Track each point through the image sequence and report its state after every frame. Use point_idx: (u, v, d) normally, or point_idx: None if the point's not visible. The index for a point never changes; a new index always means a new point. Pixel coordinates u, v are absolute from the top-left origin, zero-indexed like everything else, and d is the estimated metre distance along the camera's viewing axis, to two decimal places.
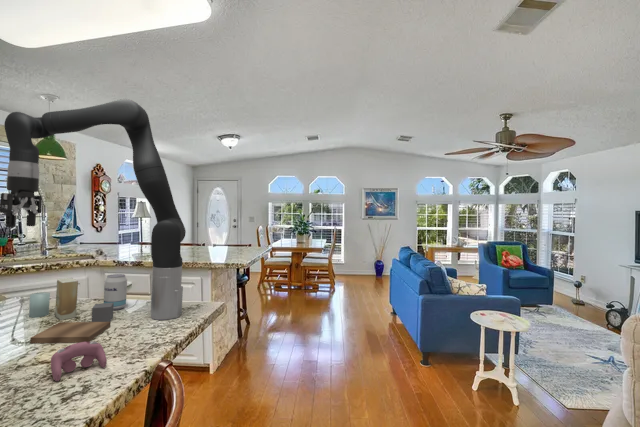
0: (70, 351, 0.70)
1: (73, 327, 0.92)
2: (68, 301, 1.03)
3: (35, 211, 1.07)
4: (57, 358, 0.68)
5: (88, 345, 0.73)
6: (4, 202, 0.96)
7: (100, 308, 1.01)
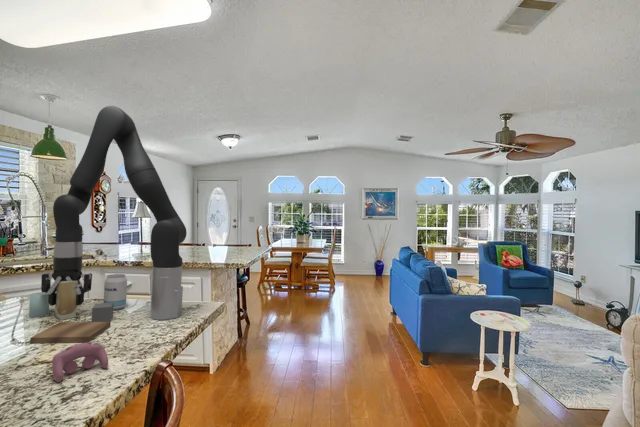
0: (71, 352, 0.70)
1: (73, 327, 0.92)
2: (68, 301, 1.03)
3: None
4: (58, 359, 0.68)
5: (89, 346, 0.73)
6: (89, 282, 1.06)
7: (100, 308, 1.01)
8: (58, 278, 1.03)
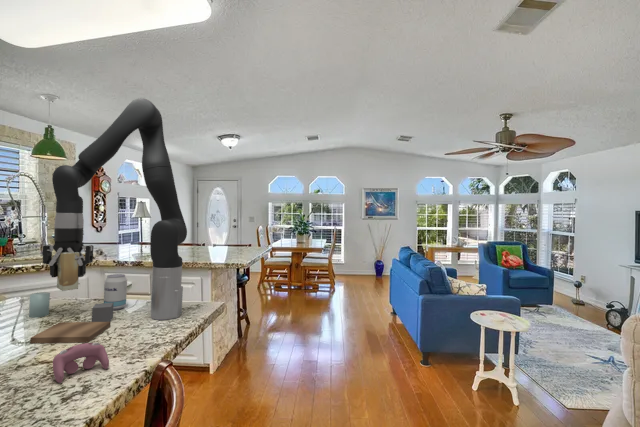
0: (72, 352, 0.70)
1: (73, 327, 0.92)
2: (69, 272, 1.03)
3: None
4: (59, 360, 0.68)
5: (90, 346, 0.72)
6: (91, 254, 1.06)
7: (100, 308, 1.01)
8: (59, 249, 1.03)
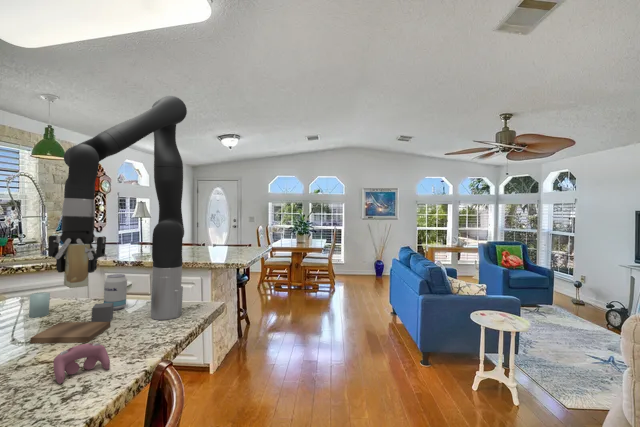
0: (73, 353, 0.69)
1: (73, 327, 0.92)
2: (78, 266, 0.89)
3: None
4: (60, 360, 0.67)
5: (91, 347, 0.72)
6: (103, 246, 0.92)
7: (100, 308, 1.01)
8: (67, 240, 0.89)
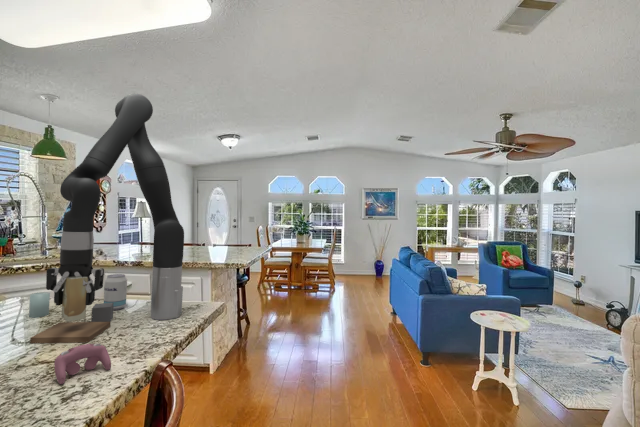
0: (74, 353, 0.69)
1: (73, 327, 0.92)
2: (76, 300, 0.89)
3: None
4: (61, 361, 0.67)
5: (92, 347, 0.72)
6: (101, 279, 0.92)
7: (100, 308, 1.01)
8: (65, 274, 0.89)
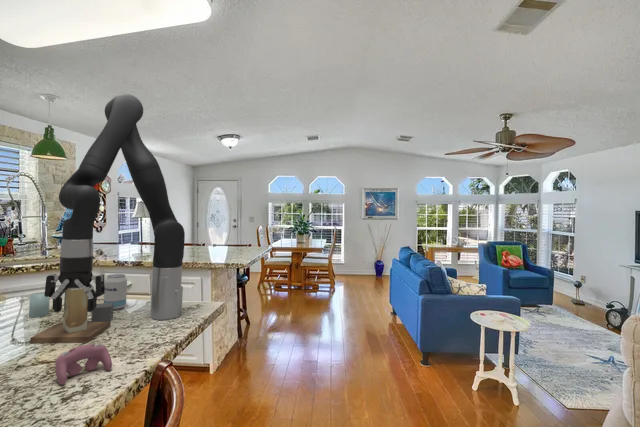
0: (75, 354, 0.69)
1: None
2: (77, 311, 0.89)
3: None
4: (62, 361, 0.67)
5: (93, 348, 0.72)
6: (102, 285, 0.92)
7: (100, 308, 1.01)
8: (65, 281, 0.89)
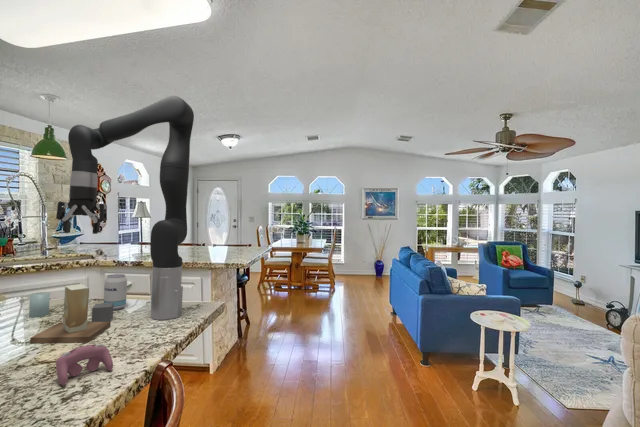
0: (76, 355, 0.69)
1: None
2: (77, 311, 0.89)
3: None
4: (63, 362, 0.67)
5: (94, 348, 0.72)
6: (104, 212, 1.10)
7: (100, 308, 1.01)
8: (74, 206, 1.06)
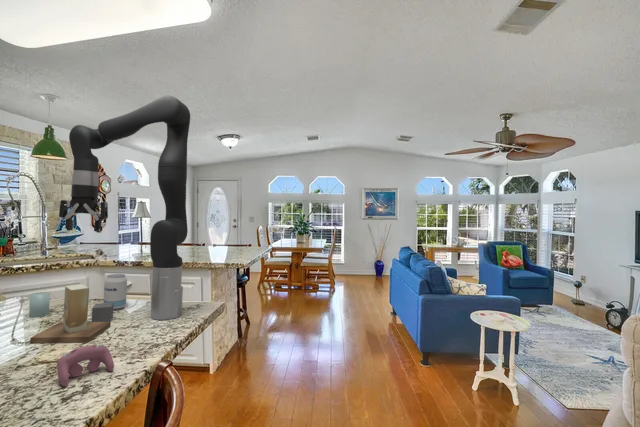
0: (77, 355, 0.69)
1: None
2: (77, 311, 0.89)
3: None
4: (64, 362, 0.67)
5: (95, 349, 0.71)
6: (105, 210, 1.12)
7: (100, 308, 1.01)
8: (76, 205, 1.09)
